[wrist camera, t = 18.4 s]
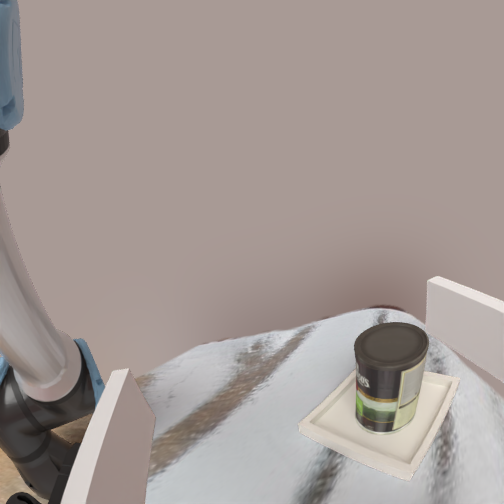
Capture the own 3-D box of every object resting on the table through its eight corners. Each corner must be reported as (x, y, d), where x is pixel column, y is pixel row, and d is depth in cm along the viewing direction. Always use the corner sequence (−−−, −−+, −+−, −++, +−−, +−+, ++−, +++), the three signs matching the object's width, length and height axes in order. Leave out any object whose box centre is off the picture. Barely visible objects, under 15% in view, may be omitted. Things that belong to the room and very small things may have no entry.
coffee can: (358, 441, 30) (360, 373, 27) (351, 396, 40) (349, 329, 37) (423, 426, 28) (440, 354, 25) (408, 384, 38) (414, 315, 35)
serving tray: (299, 432, 36) (297, 423, 36) (366, 366, 48) (366, 356, 47) (409, 481, 20) (412, 473, 20) (457, 388, 32) (460, 378, 32)
